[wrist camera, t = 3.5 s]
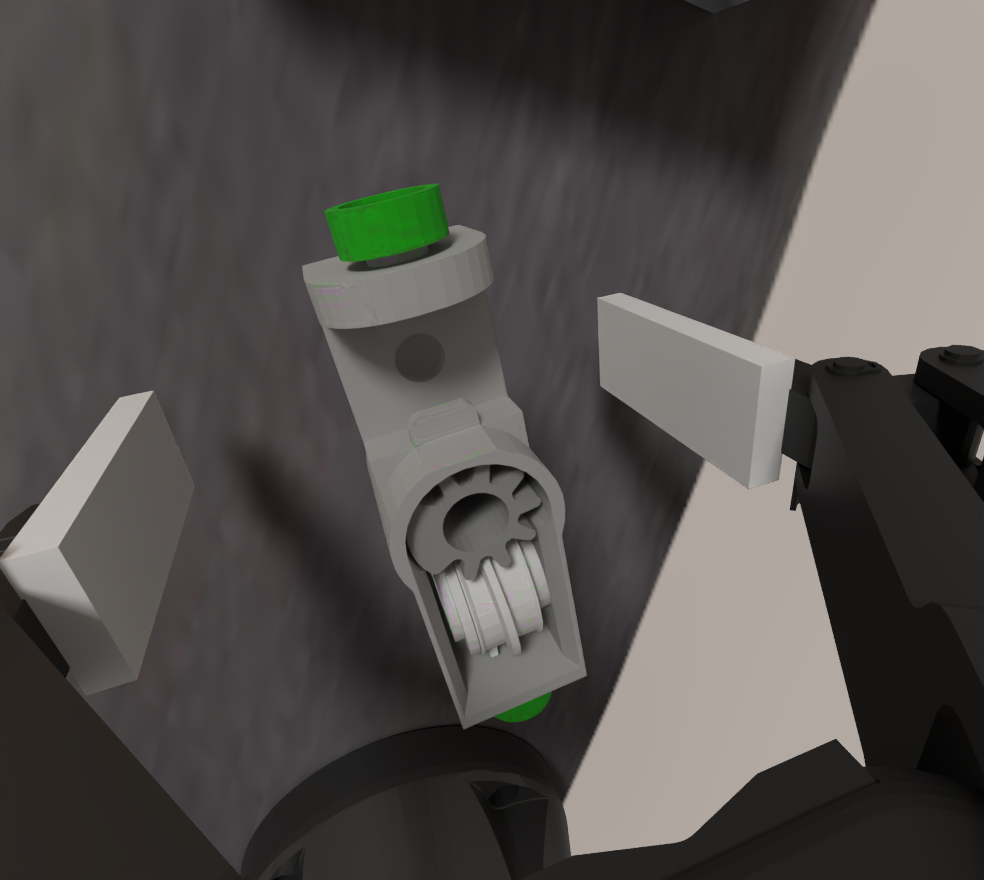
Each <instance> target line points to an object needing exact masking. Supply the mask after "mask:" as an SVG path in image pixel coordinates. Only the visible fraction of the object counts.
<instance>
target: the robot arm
mask: <svg viewBox="0 0 984 880" xmlns="http://www.w3.org/2000/svg"><path fill="white" fill-rule="evenodd" d="M597 303H598V333H599V362H600V386H601V387H602V388H604V389H605V390H607V391H608V392H610V393H611V394H613V395H614V396H615V397H617V398H618V399H620V400H621V401H623V402H624V403H625V404H627V405H628V406H630V407H631V408H633V409H634V410H635V411H637V412H638V413H640V414H641V415H643V416H644V417H646V418H647V419H648V420H650V421H651V422H653V423H654V424H656V425H657V426H658V427H660V428H661V429H663V430H664V431H666V432H667V433H669V434H670V435H671V436H673V437H674V438H676V439H677V440H679V441H680V442H681V443H683V444H684V445H686V446H687V447H689V448H690V449H691V450H693V451H694V452H696V453H697V454H699V455H700V456H702V457H703V458H704V459H706V460H707V461H709V462H710V463H712V464H713V465H714V466H716V467H717V468H719V469H720V470H722V471H723V472H725V473H726V474H728V475H729V476H730V477H732V478H733V479H735V480H736V481H738V482H739V483H740V484H742V485H743V486H745V487H746V488H747V489H751V488H754V487H757V486H760V485H764V484H767V483H770V482H774V481H777V480H779V474H780V468H781V460H782V454H784V455H786V456H788V457H790V458H791V459H793V460H795V461H796V462H797V466H796V472H795V479H794V486H793V493H792V499H791V506H790V510H794V511H795V510H796V507H797V505H798V504H799V503H800V504H801V508H802V512H803V516H804V520H805V524H806V528H807V532H808V536H809V540H810V544H811V548H812V552H813V556H814V559H815V564H816V568H817V571H818V576H819V580H820V583H821V587H822V591H823V595H824V599H825V603H826V607H827V611H828V615H829V619H830V623H831V627H832V631H833V634H834V639H835V643H836V647H837V651H838V655H839V659H840V662H841V667H842V671H843V675H844V678H845V683H846V686H847V690H848V695H849V698H850V702H851V706H852V710H853V714H854V718H855V722H856V726H857V730H858V734H859V738H860V742H861V746H862V750H863V754H864V759H865V764H866V767H863V766H862V765H861V764H860V763H859V762H858V761H857V760H856V759H855V758H854V757H853V756H852V755H851V754H850V753H849V752H848V751H847V750H846V749H845V748H844V747H843V746H842V745H841V744H840V743H839V742H838V741H837V739H834V740H832V741H830V742H828V743H825V744H823V745H821V746H819V747H816V748H814V749H812V750H810V751H808V752H805V753H803V754H801V755H798V756H796V757H794V758H792V759H789V760H787V761H785V762H783V763H780V764H778V765H776V766H774V767H771V768H769V769H767V770H765V771H762V772H760V773H758V774H757V775H755V777H753V778H752V779H751V780H750V781H749V782H748V783H747V784H746V785H745V786H744V787H743V788H742V789H741V790H740V791H739V792H738V793H737V794H735V796H733V797H732V798H731V799H730V800H729V801H728V802H727V803H726V804H725V805H724V806H723V807H722V808H721V809H720V810H719V811H718V812H717V813H716V814H714V816H713V817H711V818H710V819H709V820H708V821H707V822H706V823H705V824H704V825H703V826H702V827H701V828H700V829H699V830H698V831H697V832H696V833H694V834H693V835H692V836H691V837H690V838H688V839H686V840H684V841H681V842H678V843H672V844H664V845H655V846H647V847H639V848H631V849H623V850H615V851H607V852H599V853H591V854H583V855H575V856H571V852H570V844H569V835H568V826H567V820H566V815H565V812H564V808H563V805H562V802H561V799H560V797H559V795H558V792H557V790H556V788H555V785H554V783H553V781H552V778H551V776H550V774H549V771H548V769H547V767H546V765H545V763H544V761H543V759H542V758H541V756H540V755H539V754H538V753H537V752H536V751H535V750H534V749H533V748H532V747H531V746H530V745H528V744H527V743H525V742H524V741H522V740H520V739H519V738H517V737H514V736H512V735H510V734H507V733H504V732H501V731H497V730H493V729H488V728H481V727H468V728H466V729H463V727H462V726H450V727H437V728H430V729H423V730H418V731H413V732H409V733H404V734H400V735H397V736H393V737H390V738H387V739H384V740H381V741H378V742H375V743H373V744H370V745H368V746H365V747H362V748H360V749H358V750H356V751H354V752H351V753H349V754H347V755H345V756H343V757H341V758H339V759H337V760H336V761H334V762H332V763H330V764H329V765H327V766H325V767H324V768H322V769H320V770H319V771H317V772H316V773H314V774H313V775H311V776H310V777H308V778H307V779H306V780H304V781H303V782H302V783H300V784H299V785H298V786H297V787H295V788H294V789H293V790H292V791H291V792H289V793H288V794H287V795H286V796H285V797H284V798H283V799H282V800H281V801H280V802H279V803H278V804H277V805H276V806H275V807H274V808H273V809H272V810H271V811H270V812H269V814H268V815H267V816H266V817H265V819H264V820H263V821H262V822H261V824H260V825H259V827H258V828H257V830H256V831H255V833H254V835H253V836H252V838H251V840H250V842H249V844H248V847H247V849H246V851H245V855H244V858H243V862H242V867H241V876H240V875H239V874H238V873H237V872H236V871H235V870H234V868H233V867H232V866H231V865H230V864H229V863H228V862H227V861H226V860H225V858H224V857H223V856H222V855H221V854H220V853H219V852H218V851H217V849H216V848H215V847H214V846H213V845H212V844H211V843H210V841H209V840H208V839H207V838H206V837H205V836H204V835H203V834H202V832H201V831H200V830H199V829H198V828H197V827H196V826H195V824H194V823H193V822H192V821H191V820H190V819H189V818H188V817H187V815H186V814H185V813H184V812H183V811H182V810H181V809H180V807H179V806H178V805H177V804H176V803H175V802H174V801H173V800H172V798H171V797H170V796H169V795H168V794H167V793H166V792H165V790H164V789H163V788H162V787H161V786H160V785H159V784H158V783H157V781H156V780H155V779H154V778H153V777H152V776H151V775H150V774H149V772H148V771H147V770H146V769H145V768H144V767H143V766H142V764H141V763H140V762H139V761H138V760H137V759H136V758H135V757H134V755H133V754H132V753H131V752H130V751H129V750H128V749H127V747H126V746H125V745H124V744H123V743H122V742H121V741H120V740H119V738H118V737H117V736H116V735H115V734H114V733H113V732H112V730H111V729H110V728H109V727H108V726H107V725H106V724H105V723H104V721H103V720H102V719H101V718H100V717H99V716H98V715H97V714H96V712H95V711H94V710H93V709H92V708H91V707H90V706H89V704H88V703H87V702H86V701H85V700H84V699H83V698H82V697H81V695H80V694H79V693H78V692H77V691H76V690H75V689H74V687H73V686H72V685H71V684H70V683H69V682H68V681H67V680H66V676H67V674H68V671H69V672H70V673H71V675H72V676H73V678H74V679H75V681H76V682H77V684H78V685H79V687H80V688H81V690H82V691H83V693H84V694H85V696H87V695H90V694H93V693H96V692H100V691H103V690H106V689H109V688H112V687H116V686H119V685H122V684H125V683H129V682H132V681H135V680H137V678H138V675H139V672H140V668H141V665H142V662H143V658H144V655H145V652H146V648H147V645H148V642H149V638H150V635H151V631H152V628H153V625H154V621H155V618H156V615H157V611H158V608H159V605H160V601H161V598H162V595H163V591H164V588H165V585H166V581H167V578H168V575H169V571H170V568H171V564H172V561H173V558H174V554H175V551H176V548H177V544H178V541H179V538H180V534H181V531H182V528H183V524H184V521H185V518H186V514H187V511H188V508H189V504H190V501H191V497H192V494H193V491H194V487H195V485H194V483H193V481H192V478H191V476H190V474H189V471H188V469H187V467H186V464H185V462H184V460H183V457H182V455H181V453H180V450H179V448H178V446H177V443H176V441H175V439H174V436H173V434H172V432H171V429H170V427H169V425H168V422H167V420H166V418H165V415H164V413H163V411H162V408H161V406H160V404H159V401H158V399H157V397H156V394H155V392H154V391H149V392H144V393H139V394H135V395H130V396H125V397H120V398H119V399H118V400H117V402H116V403H115V404H114V406H113V407H112V408H111V410H110V411H109V412H108V414H107V415H106V416H105V418H104V419H103V420H102V422H101V423H100V424H99V426H98V427H97V428H96V430H95V431H94V432H93V434H92V435H91V436H90V438H89V439H88V441H87V442H86V443H85V445H84V446H83V447H82V449H81V450H80V451H79V453H78V454H77V455H76V457H75V458H74V459H73V461H72V462H71V463H70V465H69V466H68V467H67V469H66V470H65V471H64V473H63V474H62V475H61V477H60V478H59V479H58V481H57V482H56V483H55V485H54V486H53V488H52V489H51V490H50V492H49V493H48V494H47V496H46V497H45V498H44V500H43V501H42V502H41V503H40V504H36V505H31V506H30V507H29V508H27V509H26V510H25V511H23V512H22V513H21V514H19V515H18V516H16V517H15V518H14V519H12V520H11V521H10V522H8V523H7V524H6V526H5V527H4V528H3V529H2V531H1V532H0V880H984V458H983V461H981V460H979V459H978V458H977V457H976V453H977V450H978V447H979V444H980V441H981V438H982V435H983V431H984V350H980V349H978V348H975V347H972V346H962V345H951V346H949V347H937V348H931V349H927V350H925V351H922V352H921V354H920V356H919V361H918V365H917V369H916V373H915V374H907V375H896V376H892V375H891V374H890V373H889V371H888V370H887V369H886V368H884V367H883V366H882V365H880V364H878V363H876V362H871V361H867V360H863V359H859V358H855V357H840V358H831V359H825V360H821V361H817V362H816V363H814V364H813V365H810V364H807V363H805V362H802V361H799V360H797V359H795V358H794V357H792V356H789V355H786V354H784V353H781V352H778V351H775V350H773V349H770V348H768V347H765V346H762V345H759V344H757V343H754V342H751V341H749V340H746V339H743V338H741V337H738V336H735V335H733V334H730V333H727V332H725V331H722V330H719V329H717V328H714V327H711V326H708V325H706V324H703V323H700V322H698V321H695V320H692V319H690V318H687V317H684V316H682V315H679V314H676V313H674V312H671V311H668V310H666V309H663V308H660V307H657V306H655V305H652V304H649V303H647V302H644V301H641V300H639V299H636V298H633V297H631V296H628V295H625V294H623V293H618V294H614V295H609V296H604V297H599V298H597Z"/></svg>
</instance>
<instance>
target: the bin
mask: <svg viewBox="0 0 984 880" xmlns="http://www.w3.org/2000/svg"><path fill="white" fill-rule="evenodd" d="M684 1H686V2H689V3H691V4H693V5H695V6H698V7H700V8H702V9H704V10H707V11H709V12H711V13H717V12H720V11H723V10H725V9H728V8H731V7H733V6H736V5H739V4H742V3H744V2H747V1H750V0H684Z"/></svg>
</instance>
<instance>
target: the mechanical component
mask: <svg viewBox="0 0 984 880" xmlns="http://www.w3.org/2000/svg"><path fill="white" fill-rule="evenodd" d="M324 213H325V216H326V219H327V222H328V225H329V228H330V231H331V234H332V237H333V240H334V243H335V247H336V250H337V253H338V256H337V257H333V258H330V259H326V260H322V261H318V262H314V263H311V264H307V265H303V266H302V268H303V276H304V281H305V284H306V287H307V290H308V292H309V295H310V298H311V301H312V303H313V306H314V309H315V312H316V314H317V317H318V320H319V323H320V324H321V325H322V328H323V331H324V334H325V336H326V339H327V342H328V345H329V347H330V350H331V353H332V356H333V359H334V361H335V364H336V367H337V370H338V373H339V375H340V378H341V381H342V384H343V386H344V389H345V392H346V395H347V398H348V400H349V403H350V406H351V409H352V412H353V414H354V417H355V420H356V423H357V425H358V428H359V431H360V434H361V437H362V439H363V442H364V446H365V449H366V459H367V466H368V471H369V475H370V478H371V482H372V486H373V490H374V494H375V498H376V501H377V505H378V509H379V513H380V517H381V521H382V524H383V528H384V532H385V536H386V540H387V544H388V548H389V551H390V555H391V558H392V561H393V564H394V567H395V570H396V572H397V573H398V575H399V576H400V578H401V580H402V581H403V582H404V583H405V584H406V585H407V586H408V587H409V588H410V589H411V590H412V591H413V592H414V595H415V597H416V600H417V603H418V606H419V608H420V611H421V614H422V617H423V619H424V622H425V625H426V628H427V630H428V633H429V636H430V639H431V641H432V644H433V647H434V650H435V652H436V655H437V658H438V661H439V663H440V666H441V669H442V672H443V674H444V677H445V680H446V683H447V685H448V688H449V691H450V694H451V696H452V699H453V702H454V705H455V707H456V710H457V713H458V716H459V718H460V721H461V724H462V727H463V729H466V728H468V727H470V726H473V725H475V724H477V723H480V722H482V721H484V720H487V719H489V718H491V717H493V716H494V717H495V718H497V719H499V720H502V721H507V722H511V723H512V722H521V721H525V720H528V719H530V718H532V717H534V716H535V715H537V714H538V713H540V712H541V711H542V710H543V708H544V707H545V706H546V705H547V704H548V701H549V699H550V697H551V692H552V691H553V690H555V689H558V688H560V687H562V686H565V685H567V684H569V683H571V682H574V681H576V680H578V679H581V678H583V677H585V676H587V673H586V668H585V662H584V656H583V651H582V645H581V640H580V634H579V629H578V623H577V617H576V612H575V606H574V601H573V595H572V590H571V584H570V578H569V573H568V567H567V562H566V556H565V551H564V545H563V539H562V532H563V528H564V523H565V503H564V498H563V493H562V491H561V489H560V487H559V485H558V483H557V480H556V479H555V478H554V477H553V475H552V474H551V473H550V472H549V470H548V469H547V468H546V467H545V466H544V464H543V463H542V462H541V461H540V460H539V459H538V457H537V456H536V455H535V454H534V453H533V451H532V450H531V449H530V448H529V443H528V438H527V433H526V428H525V423H524V418H523V412H522V411H521V410H520V409H519V407H518V406H517V405H516V404H515V403H514V402H513V401H512V400H511V399H510V398H509V397H508V396H507V392H506V387H505V382H504V377H503V372H502V368H501V363H500V358H499V353H498V348H497V343H496V339H495V334H494V329H493V324H492V319H491V314H490V310H489V305H488V300H487V295H486V290H485V289H486V288H487V287H488V286H490V285H491V284H492V282H493V280H494V276H493V271H492V266H491V261H490V256H489V251H488V246H487V241H486V236H485V234H484V233H482V232H479V231H476V230H473V229H470V228H467V227H464V226H461V225H455V226H451V227H448V224H447V219H446V215H445V211H444V206H443V202H442V198H441V193H440V189H439V185H438V184H427V185H420V186H414V187H409V188H404V189H399V190H395V191H390V192H386V193H381V194H377V195H373V196H369V197H365V198H362V199H358V200H354V201H351V202H347V203H344V204H340V205H337V206H335V207H332V208H329V209H327V210H325V211H324Z"/></svg>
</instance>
